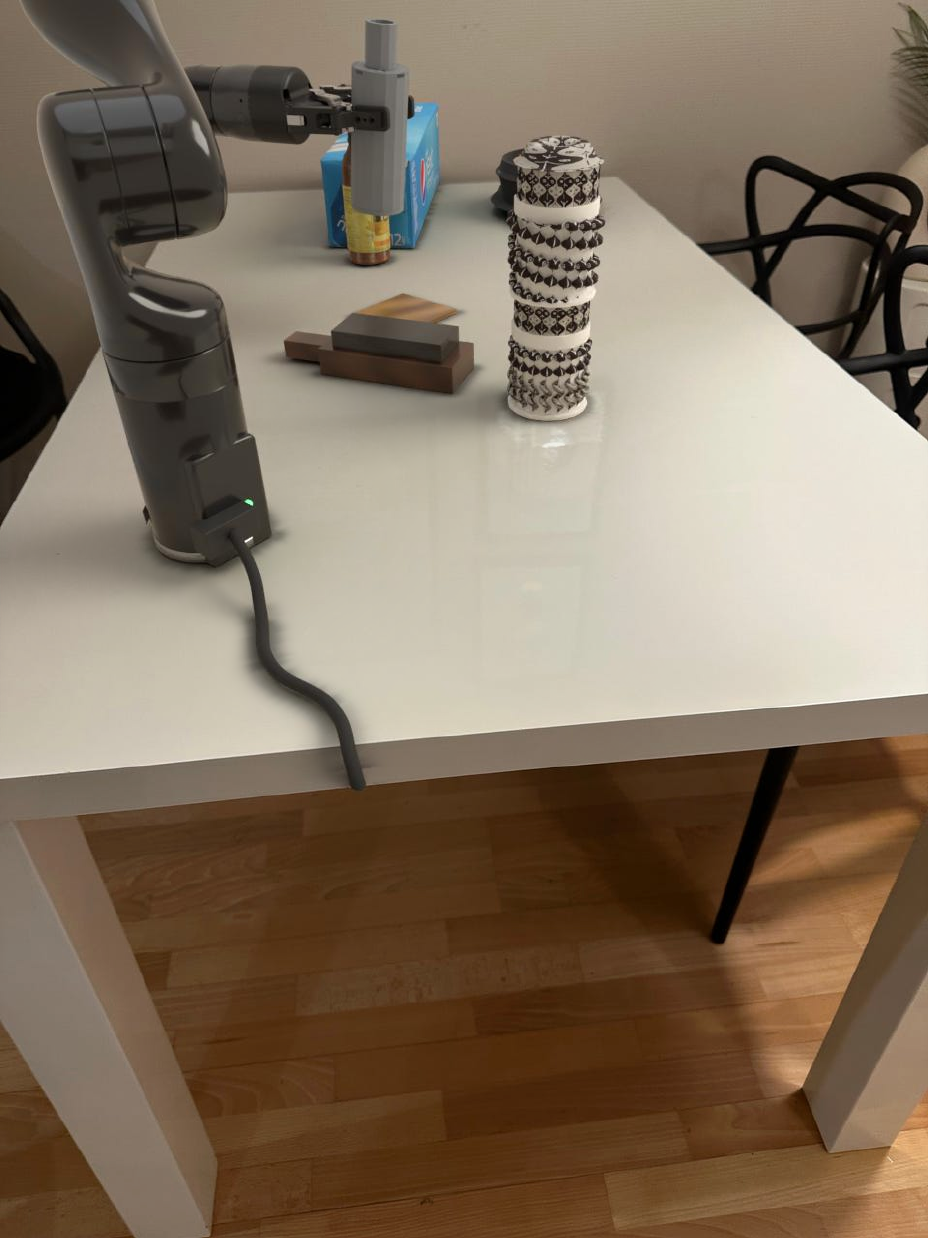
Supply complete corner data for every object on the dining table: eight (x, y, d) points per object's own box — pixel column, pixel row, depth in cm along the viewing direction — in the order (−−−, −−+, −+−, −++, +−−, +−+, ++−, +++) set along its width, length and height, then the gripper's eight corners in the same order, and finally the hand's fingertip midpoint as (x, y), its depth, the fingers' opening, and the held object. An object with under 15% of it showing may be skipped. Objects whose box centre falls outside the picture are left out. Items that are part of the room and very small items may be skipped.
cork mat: (456, 312, 115) (456, 308, 115) (406, 335, 110) (406, 331, 109) (402, 296, 120) (402, 292, 120) (352, 317, 114) (352, 313, 114)
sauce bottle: (384, 268, 129) (374, 112, 116) (343, 265, 130) (328, 111, 117) (396, 253, 134) (387, 102, 121) (356, 251, 135) (343, 101, 122)
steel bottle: (414, 209, 103) (423, 25, 91) (376, 219, 100) (380, 28, 88) (378, 195, 106) (382, 14, 94) (340, 204, 102) (339, 17, 90)
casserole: (476, 195, 158) (476, 142, 153) (577, 188, 161) (580, 136, 156) (508, 237, 139) (509, 178, 134) (622, 228, 142) (628, 170, 137)
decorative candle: (519, 428, 91) (527, 157, 75) (493, 389, 98) (494, 134, 82) (603, 415, 92) (628, 148, 77) (571, 379, 99) (588, 127, 83)
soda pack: (369, 180, 167) (363, 102, 159) (442, 181, 166) (440, 101, 158) (326, 248, 136) (316, 155, 128) (415, 249, 135) (410, 155, 127)
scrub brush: (474, 368, 102) (473, 325, 99) (452, 393, 97) (451, 349, 94) (306, 344, 108) (301, 303, 105) (278, 367, 103) (271, 325, 100)
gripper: (223, 75, 92) (371, 84, 88) (289, 55, 103) (425, 61, 98) (235, 155, 97) (376, 167, 93) (297, 128, 108) (427, 137, 103)
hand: (400, 113), depth 96 cm, fingers closed on steel bottle, 6 cm apart
